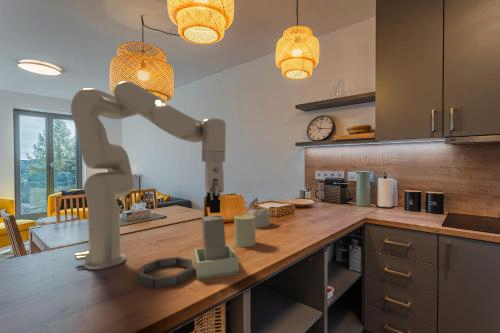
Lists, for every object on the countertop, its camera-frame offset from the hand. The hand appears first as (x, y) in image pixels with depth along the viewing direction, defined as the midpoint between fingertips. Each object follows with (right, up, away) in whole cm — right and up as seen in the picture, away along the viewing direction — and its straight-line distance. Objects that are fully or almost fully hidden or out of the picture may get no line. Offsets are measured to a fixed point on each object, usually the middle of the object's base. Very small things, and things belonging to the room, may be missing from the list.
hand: (212, 209), depth 80 cm
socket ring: (-13, -19, -4) cm, 24 cm away
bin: (+1, -19, 0) cm, 19 cm away
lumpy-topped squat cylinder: (+17, -19, +56) cm, 62 cm away
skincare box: (0, -18, 0) cm, 18 cm away
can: (+10, -19, +25) cm, 33 cm away
